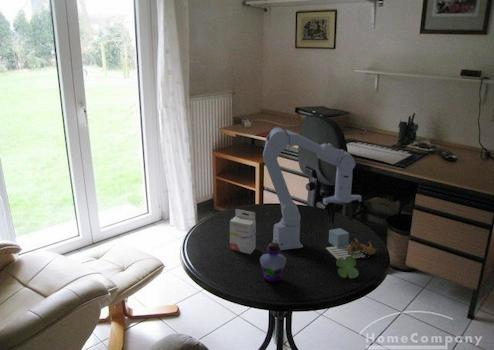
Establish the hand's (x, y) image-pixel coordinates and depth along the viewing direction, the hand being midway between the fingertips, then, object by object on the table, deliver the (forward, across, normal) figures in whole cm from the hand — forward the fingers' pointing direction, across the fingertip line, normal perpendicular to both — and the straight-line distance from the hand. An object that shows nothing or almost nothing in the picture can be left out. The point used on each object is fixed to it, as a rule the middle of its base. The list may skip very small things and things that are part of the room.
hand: (340, 220), depth 151 cm
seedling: (+10, -6, -16) cm, 20 cm away
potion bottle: (+10, -32, -16) cm, 37 cm away
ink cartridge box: (+10, -36, +6) cm, 38 cm away
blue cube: (+7, 0, -2) cm, 7 cm away
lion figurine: (+8, +7, -5) cm, 11 cm away
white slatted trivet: (+10, 0, -6) cm, 12 cm away
